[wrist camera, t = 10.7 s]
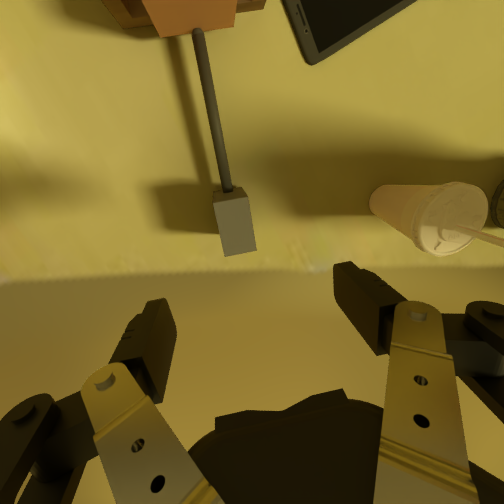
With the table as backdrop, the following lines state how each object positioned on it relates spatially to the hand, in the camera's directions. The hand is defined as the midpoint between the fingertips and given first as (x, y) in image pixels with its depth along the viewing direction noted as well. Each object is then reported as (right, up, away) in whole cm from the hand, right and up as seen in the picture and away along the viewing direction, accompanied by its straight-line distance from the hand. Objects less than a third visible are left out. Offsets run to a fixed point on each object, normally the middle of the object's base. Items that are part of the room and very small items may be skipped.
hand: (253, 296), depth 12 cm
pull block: (-4, +16, +12) cm, 20 cm away
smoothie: (+16, +8, +18) cm, 25 cm away
